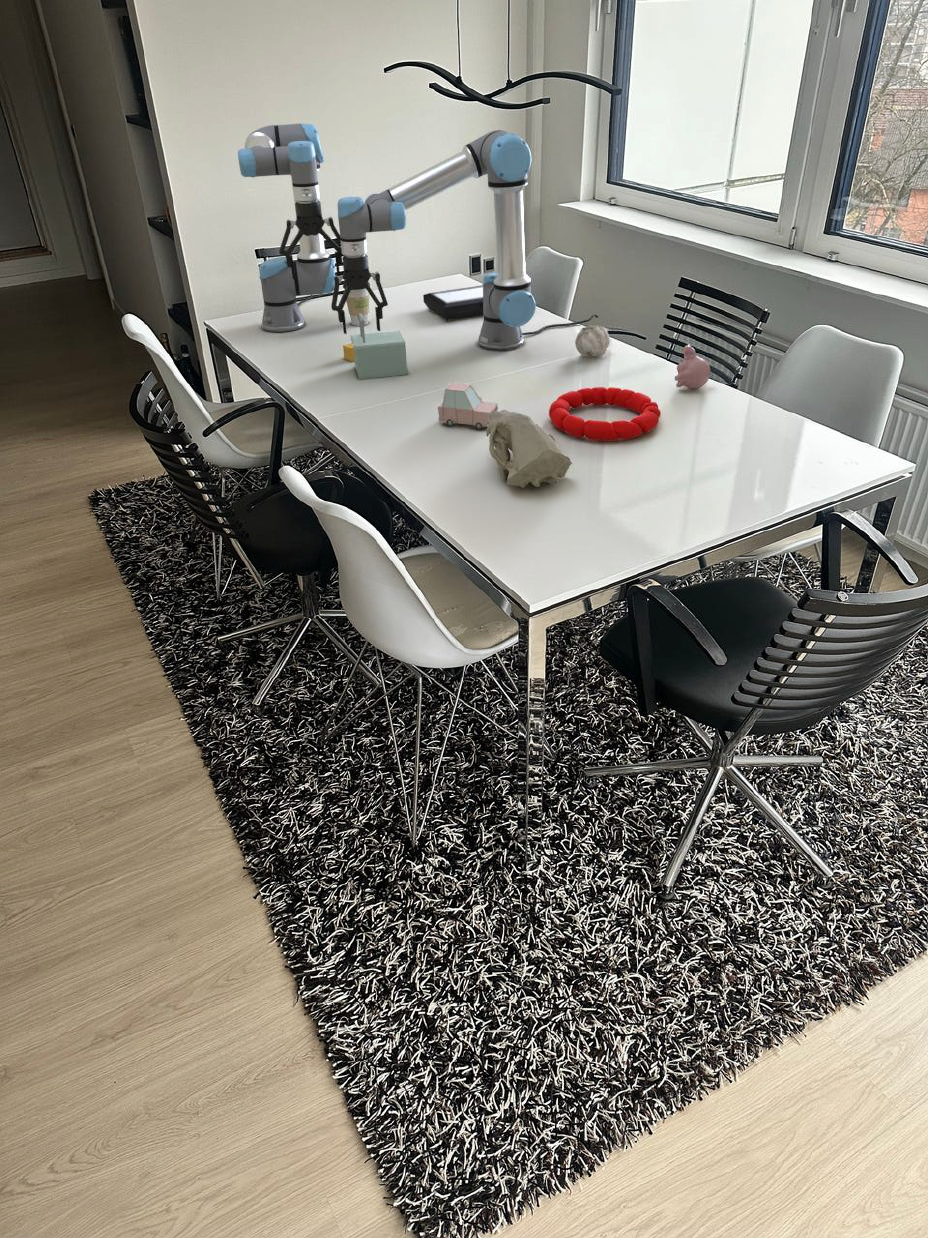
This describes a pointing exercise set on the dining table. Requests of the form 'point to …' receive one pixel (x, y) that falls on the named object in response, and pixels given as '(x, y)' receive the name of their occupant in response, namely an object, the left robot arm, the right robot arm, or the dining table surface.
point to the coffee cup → (358, 304)
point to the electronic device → (456, 303)
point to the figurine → (692, 370)
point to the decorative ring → (604, 428)
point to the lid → (375, 338)
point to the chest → (380, 361)
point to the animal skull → (525, 450)
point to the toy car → (465, 406)
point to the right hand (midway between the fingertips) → (361, 331)
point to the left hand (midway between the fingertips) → (316, 276)
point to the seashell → (592, 340)
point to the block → (349, 352)
